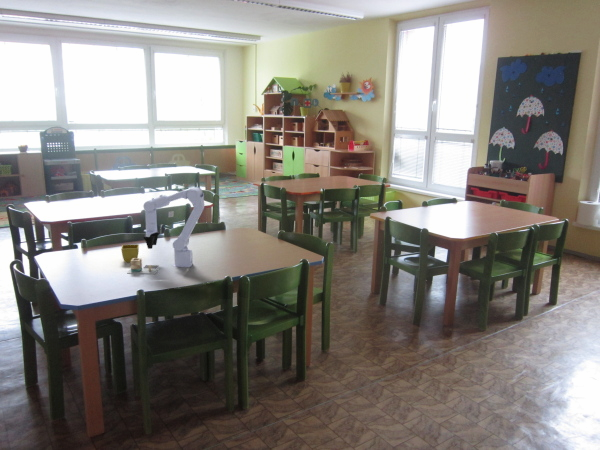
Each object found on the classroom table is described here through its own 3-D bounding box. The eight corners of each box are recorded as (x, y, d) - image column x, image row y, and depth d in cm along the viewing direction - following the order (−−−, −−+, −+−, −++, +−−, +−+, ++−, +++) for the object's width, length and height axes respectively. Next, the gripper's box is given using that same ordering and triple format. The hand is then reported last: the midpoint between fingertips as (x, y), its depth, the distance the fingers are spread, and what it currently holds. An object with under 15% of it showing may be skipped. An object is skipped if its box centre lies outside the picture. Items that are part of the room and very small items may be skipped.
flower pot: (121, 264, 264) (121, 248, 262) (123, 260, 272) (122, 244, 270) (138, 263, 266) (138, 248, 264) (139, 259, 274) (138, 244, 272)
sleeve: (141, 269, 254) (141, 258, 252) (139, 271, 249) (139, 260, 248) (133, 269, 253) (132, 258, 252) (131, 271, 249) (130, 260, 248)
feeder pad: (158, 266, 262) (158, 265, 262) (155, 269, 257) (155, 268, 256) (146, 266, 262) (145, 265, 262) (142, 269, 256) (142, 268, 256)
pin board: (159, 270, 256) (158, 263, 255) (154, 275, 248) (154, 267, 247) (132, 269, 255) (132, 262, 255) (127, 274, 248) (126, 267, 247)
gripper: (147, 219, 268) (148, 243, 271) (139, 225, 254) (140, 250, 257) (160, 219, 268) (161, 243, 271) (153, 225, 254) (153, 250, 257)
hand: (152, 246), depth 264 cm, fingers open, 7 cm apart
